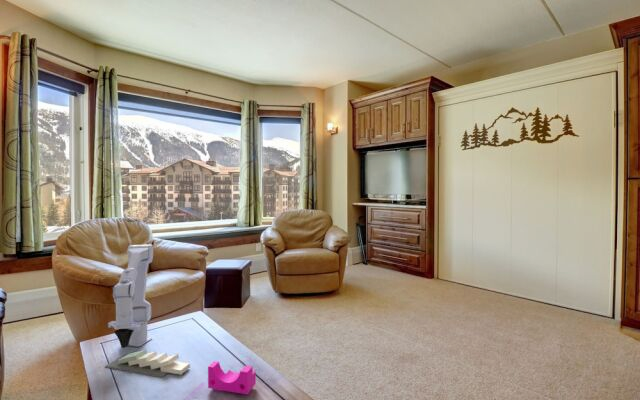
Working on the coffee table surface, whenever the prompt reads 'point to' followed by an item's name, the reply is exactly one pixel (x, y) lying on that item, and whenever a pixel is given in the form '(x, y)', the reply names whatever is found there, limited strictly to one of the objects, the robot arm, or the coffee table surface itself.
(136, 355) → the sage domino
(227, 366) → the coffee table surface
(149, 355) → the domino
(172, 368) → the domino
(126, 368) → the mat
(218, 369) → the toy block
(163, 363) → the domino
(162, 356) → the domino
